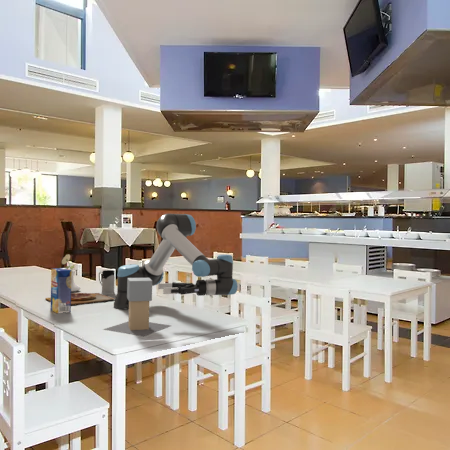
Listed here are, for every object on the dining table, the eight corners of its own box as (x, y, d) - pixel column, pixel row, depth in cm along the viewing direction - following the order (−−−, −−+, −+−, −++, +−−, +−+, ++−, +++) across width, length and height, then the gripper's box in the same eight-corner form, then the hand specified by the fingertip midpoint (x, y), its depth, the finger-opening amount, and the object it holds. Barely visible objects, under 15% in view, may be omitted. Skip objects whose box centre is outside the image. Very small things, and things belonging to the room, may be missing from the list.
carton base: (128, 325, 201) (129, 286, 201) (146, 324, 204) (147, 285, 203) (130, 330, 193) (131, 289, 193) (148, 329, 196) (149, 288, 196)
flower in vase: (73, 289, 298) (74, 252, 298) (83, 291, 291) (84, 254, 291) (56, 291, 288) (57, 253, 287) (66, 293, 281) (67, 255, 280)
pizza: (96, 294, 284) (96, 289, 284) (118, 301, 264) (119, 295, 264) (42, 300, 259) (42, 294, 259) (62, 308, 239) (62, 301, 239)
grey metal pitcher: (106, 295, 279) (107, 272, 279) (93, 292, 287) (93, 270, 287) (117, 293, 286) (118, 271, 286) (104, 291, 294) (104, 269, 294)
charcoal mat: (134, 320, 213) (134, 319, 213) (171, 326, 203) (172, 325, 203) (103, 330, 193) (103, 329, 193) (143, 337, 184) (143, 336, 184)
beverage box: (63, 308, 237) (64, 267, 237) (70, 311, 229) (71, 270, 228) (50, 309, 233) (51, 268, 232) (57, 313, 224) (58, 270, 224)
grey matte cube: (126, 297, 201) (127, 277, 201) (148, 296, 205) (149, 277, 204) (129, 301, 192) (129, 281, 192) (151, 300, 195) (152, 280, 195)
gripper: (212, 300, 196) (165, 301, 189) (198, 291, 220) (156, 292, 213) (212, 283, 196) (165, 284, 189) (198, 276, 220) (156, 276, 213)
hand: (160, 288), depth 201 cm, fingers open, 13 cm apart
